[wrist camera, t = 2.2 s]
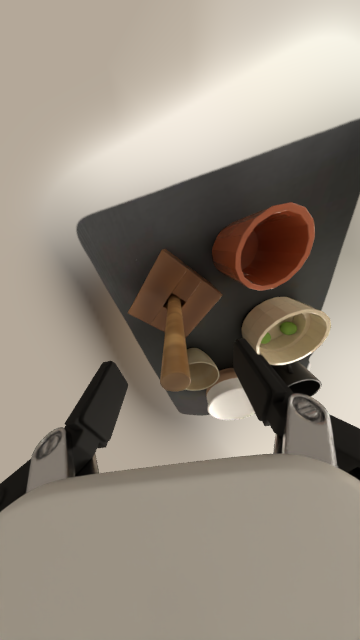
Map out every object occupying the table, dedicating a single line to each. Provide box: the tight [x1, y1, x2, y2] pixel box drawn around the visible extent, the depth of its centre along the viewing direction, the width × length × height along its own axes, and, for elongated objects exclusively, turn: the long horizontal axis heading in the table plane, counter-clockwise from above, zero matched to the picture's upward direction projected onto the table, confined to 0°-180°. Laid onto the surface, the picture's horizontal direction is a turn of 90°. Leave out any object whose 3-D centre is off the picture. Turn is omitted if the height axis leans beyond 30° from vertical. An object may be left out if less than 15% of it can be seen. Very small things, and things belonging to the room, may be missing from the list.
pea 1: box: [261, 332, 271, 344], centre depth 30 cm, size 3×3×3 cm
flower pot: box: [186, 348, 219, 391], centre depth 32 cm, size 10×10×7 cm
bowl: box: [206, 368, 255, 420], centre depth 37 cm, size 16×16×8 cm
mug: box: [271, 361, 322, 397], centre depth 33 cm, size 9×12×9 cm
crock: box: [212, 202, 315, 291], centre depth 18 cm, size 8×8×10 cm
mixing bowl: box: [241, 297, 331, 365], centre depth 27 cm, size 13×13×7 cm
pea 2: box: [280, 322, 297, 335], centre depth 29 cm, size 3×3×3 cm
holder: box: [128, 249, 222, 338], centre depth 23 cm, size 11×11×7 cm
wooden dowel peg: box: [160, 293, 191, 391], centre depth 17 cm, size 2×2×20 cm
